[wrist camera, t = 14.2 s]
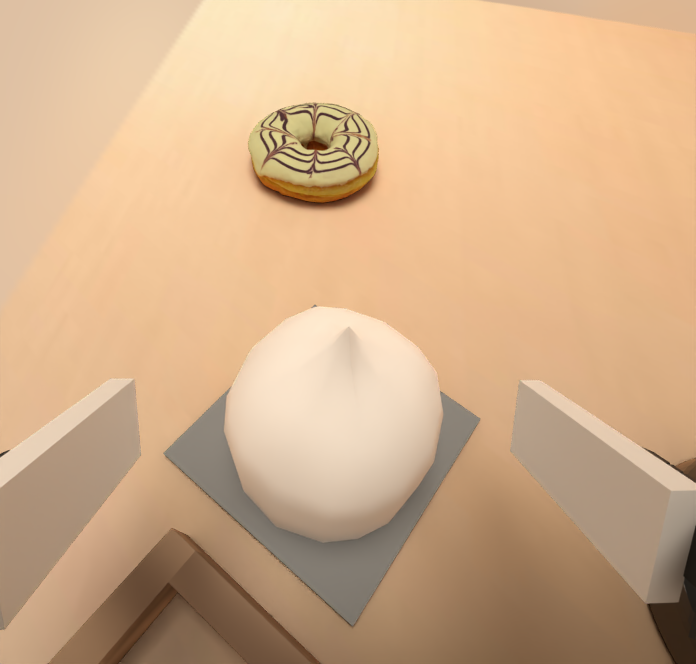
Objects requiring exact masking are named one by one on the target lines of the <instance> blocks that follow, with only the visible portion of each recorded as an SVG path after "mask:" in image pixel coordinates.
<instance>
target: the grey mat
mask: <svg viewBox="0 0 696 664" xmlns="http://www.w3.org/2000/svg"><path fill="white" fill-rule="evenodd" d="M313 307H317V306H316V305H314V306H313ZM313 307H312V308H313ZM231 387H232V386H231ZM231 387H230V388H229V389H228V390H227V391H226V392H225V393H224V394H223V395H222V396H221V397H220V398H219V399H218V400H217V401H216V402H215V403H214V404H213V405H212V406H211V407H210V408H209V409H208V410H207V411H206V412H205V413H204V414H203V415H202V416H201V417H200V418H199V419H198V420H197V421H196V422H195V423H194V424H193V425H192V426H191V427H190V428H189V429H188V430H187V431H186V432H185V433H184V434H182V435H181V436H180V437H179V438H178V439H177V440H176V441H175V442H174V443H173V444H172V445H171V446H170V447H169V448H168V449H167V450H166V451H165V452H164V453H163V454H164V455H165V456H166V457H168V458H169V459H170V460H171V461H172V462H173V463H174V464H175V465H176V466H177V467H179V468H180V469H181V470H182V471H183V472H184V473H185V474H186V475H187V476H188V477H189V478H191V479H192V480H193V481H194V482H195V483H196V484H197V485H198V486H199V487H200V488H202V489H203V490H204V491H205V492H206V493H207V494H208V495H209V496H210V497H211V498H212V499H214V500H215V501H216V502H217V503H218V504H219V505H220V506H221V507H222V508H223V509H225V510H226V511H227V512H228V513H229V514H230V515H231V516H232V517H233V518H234V519H235V520H237V521H238V522H239V523H240V524H241V525H242V526H243V527H244V528H245V529H246V530H247V531H249V532H250V533H251V534H252V535H253V536H254V537H255V538H256V539H257V540H258V541H260V542H261V543H262V544H263V545H264V546H265V547H266V548H267V549H268V550H269V551H270V552H272V553H273V554H274V555H275V556H276V557H277V558H278V559H279V560H280V561H281V562H283V563H284V564H285V565H286V566H287V567H288V568H289V569H290V570H291V571H292V572H293V573H295V574H296V575H297V576H298V577H299V578H300V579H301V580H302V581H303V582H304V583H306V584H307V585H308V586H309V587H310V588H311V589H312V590H313V591H314V592H315V593H316V594H318V595H319V596H320V597H321V598H322V599H323V600H324V601H325V602H326V603H327V604H329V605H330V606H331V607H332V608H333V609H334V610H335V611H336V612H337V613H338V614H339V615H341V616H342V617H343V618H344V619H345V620H346V621H347V622H348V623H349V624H350V625H351V626H353V625H354V624H355V622H356V621H357V619H358V617H359V616H360V614H361V612H362V611H363V609H364V608H365V606H366V604H367V603H368V601H369V599H370V598H371V596H372V595H373V593H374V591H375V590H376V588H377V586H378V585H379V583H380V582H381V580H382V578H383V577H384V575H385V573H386V572H387V570H388V569H389V567H390V565H391V564H392V562H393V560H394V559H395V557H396V556H397V554H398V552H399V551H400V549H401V547H402V546H403V544H404V543H405V541H406V539H407V538H408V536H409V534H410V533H411V531H412V530H413V528H414V526H415V525H416V523H417V521H418V520H419V518H420V517H421V515H422V513H423V512H424V510H425V508H426V507H427V505H428V504H429V502H430V500H431V499H432V497H433V495H434V494H435V492H436V491H437V489H438V487H439V486H440V484H441V482H442V481H443V479H444V478H445V476H446V474H447V473H448V471H449V469H450V468H451V466H452V465H453V463H454V461H455V460H456V458H457V456H458V455H459V453H460V452H461V450H462V448H463V447H464V445H465V443H466V442H467V440H468V439H469V437H470V435H471V434H472V432H473V430H474V429H475V427H476V426H477V424H478V422H479V421H480V418H478V417H477V416H476V415H474V414H473V413H471V412H470V411H468V410H467V409H465V408H464V407H463V406H461V405H460V404H458V403H457V402H455V401H454V400H452V399H451V398H450V397H448V396H447V395H445V394H444V393H442V392H441V391H440V396H441V402H442V408H443V419H442V424H441V429H440V434H439V439H438V444H437V449H436V454H435V460H434V463H433V464H432V466H431V467H430V469H429V470H428V472H427V473H426V475H425V476H424V478H423V479H422V481H421V483H420V484H419V486H418V487H417V488H416V490H415V491H414V492H413V493H412V495H411V496H410V497H409V498H408V500H407V501H406V502H405V503H404V504H403V506H402V507H401V508H400V509H399V511H398V512H397V513H396V514H395V516H394V517H393V518H392V519H391V521H390V522H389V523H388V524H386V525H384V526H382V527H380V528H378V529H376V530H374V531H372V532H370V533H368V534H366V535H364V536H362V537H360V538H358V539H352V540H343V541H334V542H325V543H322V542H320V541H317V540H314V539H311V538H308V537H305V536H302V535H299V534H296V533H293V532H290V531H287V530H284V529H281V528H278V527H276V526H275V525H274V524H273V523H272V522H271V521H270V520H269V518H268V517H267V516H266V515H265V514H264V513H263V512H262V511H261V510H260V509H259V507H258V506H257V505H256V504H255V503H254V502H253V501H252V500H251V499H250V497H249V496H248V495H247V494H246V493H245V492H244V491H243V488H242V484H241V481H240V478H239V475H238V472H237V469H236V466H235V463H234V460H233V457H232V454H231V451H230V448H229V445H228V442H227V439H226V436H225V433H224V424H225V410H226V397H227V395H228V393H229V391H230V389H231Z"/></svg>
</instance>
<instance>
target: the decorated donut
mask: <svg viewBox="0 0 696 664" xmlns="http://www.w3.org/2000/svg"><path fill="white" fill-rule="evenodd" d="M248 149H249V151H250V154H251V159H252V164H253V169H254V171H255V173H256V175H257V176H258V178H259V179H260V180H261V182H262V183H263V184H264V185H265V186H266V187H269V188H271V189H273V190H275V191H279V192H280V193H281V194H282V195H288V196H291V197H294V198H298V199H301V200H306V201H311V202H323V203H324V202H331V201H336V200H338V199H342V198H345V197H348V196H349V195H351V194H353V193H355V192H356V191H359V190H360V189H361V188H363V187H364V186H365V185H366V183H368V181H369V180H370V179H371V178H372V177H373V175H374V174H375V172H376V169H377V162H378V155H379V154H378V152H379V148H378V144H377V134H376V131H375V129H374V127H373V125H372V124H371V123H370V122H369V121H367V120H366V119H364V118H363V117H362V116H361V115H360V114H358V113H356V112H353V111H352V110H350V109H347V108H344V107H342V106H340V105H337V104H329V103H305V104H300V105H295V106H289V107H285V108H282V109H280V110H278V111H276V112H273V113H272V114H270V115H268V116H267V117H265V118H264V119H263V120H261V121H260V122H259V123H258V124H257V125H256V126H255V128H254V129H253V131H252V132H251V134H250V137H249V141H248Z"/></svg>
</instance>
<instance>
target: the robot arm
mask: <svg viewBox="0 0 696 664" xmlns="http://www.w3.org/2000/svg"><path fill="white" fill-rule="evenodd" d="M510 451H511V452H512V454H513V455H514V456H515V457H516V458H517V459H518V460H519V461H520V463H521V464H522V465H523V466H524V467H525V468H526V469H527V470H528V472H529V473H530V474H531V475H532V476H533V477H534V478H535V479H536V481H537V482H538V483H539V484H540V485H541V486H542V487H543V489H544V490H545V491H546V492H547V493H548V494H549V495H550V496H551V498H552V499H553V500H554V501H555V502H556V503H557V504H558V505H559V507H560V508H561V509H562V510H563V511H564V512H565V513H566V514H567V516H568V517H569V518H570V519H571V520H572V521H573V522H574V524H575V525H576V526H577V527H578V528H579V529H580V530H581V531H582V533H583V534H584V535H585V536H586V537H587V538H588V539H589V540H590V542H591V543H592V544H593V545H594V546H595V547H596V548H597V549H598V551H599V552H600V553H601V554H602V555H603V556H604V557H605V559H606V560H607V561H608V562H609V563H610V564H611V565H612V566H613V568H614V569H615V570H616V571H617V572H618V573H619V574H620V575H621V577H622V578H623V579H624V580H625V581H626V582H627V583H628V584H629V586H630V587H631V588H632V589H633V590H634V591H635V592H636V594H637V595H638V596H639V597H640V598H641V599H642V600H643V601H644V603H645V604H650V607H651V610H652V613H653V616H654V618H655V621H656V623H657V626H658V628H659V630H660V633H661V635H662V637H663V639H664V641H665V643H666V645H667V647H668V649H669V651H670V653H671V655H672V657H673V658H674V660H675V662H676V664H696V458H694V459H691V460H688V461H685V462H683V463H681V464H679V465H677V466H674V465H670V463H669V462H668V461H666V460H665V459H663V458H662V457H660V456H659V455H657V454H656V453H654V452H652V451H650V450H647V449H645V448H643V447H641V446H639V445H637V444H636V443H634V442H633V441H631V440H630V439H628V438H627V437H625V436H624V435H622V434H621V433H619V432H618V431H616V430H615V429H613V428H612V427H610V426H609V425H607V424H606V423H604V422H603V421H601V420H600V419H598V418H597V417H595V416H594V415H592V414H591V413H589V412H588V411H586V410H585V409H583V408H582V407H580V406H579V405H577V404H576V403H574V402H572V401H571V400H569V399H568V398H566V397H565V396H563V395H562V394H560V393H559V392H557V391H556V390H554V389H553V388H551V387H550V386H548V385H547V384H545V383H544V382H542V381H541V380H519V386H518V394H517V402H516V410H515V418H514V425H513V433H512V441H511V449H510ZM140 456H141V447H140V435H139V424H138V413H137V402H136V390H135V379H109V380H108V381H106V382H105V383H103V384H102V385H101V386H99V387H98V388H97V389H95V390H94V391H92V392H91V393H90V394H88V395H87V396H85V397H84V398H83V399H81V400H80V401H78V402H77V403H76V404H74V405H73V406H71V407H70V408H69V409H67V410H66V411H64V412H63V413H62V414H60V415H59V416H58V417H56V418H55V419H53V420H52V421H51V422H49V423H48V424H46V425H45V426H44V427H42V428H41V429H39V430H38V431H37V432H35V433H34V434H32V435H31V436H30V437H28V438H27V439H25V440H24V441H23V442H21V443H20V444H18V445H17V446H16V447H14V448H13V449H12V450H8V451H6V452H3V453H1V454H0V630H2V629H6V627H7V626H8V625H9V623H10V622H11V621H12V620H13V618H14V617H15V616H16V615H17V613H18V612H19V611H20V609H21V608H22V607H23V606H24V604H25V603H26V602H27V600H28V599H29V598H30V597H31V595H32V594H33V593H34V591H35V590H36V589H37V588H38V586H39V585H40V584H41V582H42V581H43V580H44V579H45V577H46V576H47V575H48V574H49V572H50V571H51V570H52V568H53V567H54V566H55V565H56V563H57V562H58V561H59V559H60V558H61V557H62V556H63V554H64V553H65V552H66V550H67V549H68V548H69V547H70V545H71V544H72V543H73V541H74V540H75V539H76V538H77V536H78V535H79V534H80V533H81V531H82V530H83V529H84V527H85V526H86V525H87V524H88V522H89V521H90V520H91V518H92V517H93V516H94V515H95V513H96V512H97V511H98V509H99V508H100V507H101V506H102V504H103V503H104V502H105V501H106V499H107V498H108V497H109V495H110V494H111V493H112V492H113V490H114V489H115V488H116V486H117V485H118V484H119V483H120V481H121V480H122V479H123V477H124V476H125V475H126V474H127V472H128V471H129V470H130V468H131V467H132V466H133V465H134V463H135V462H136V461H137V460H138V458H139V457H140Z"/></svg>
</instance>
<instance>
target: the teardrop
mask: <svg viewBox="0 0 696 664" xmlns="http://www.w3.org/2000/svg"><path fill="white" fill-rule="evenodd" d="M442 419H443V408H442V402H441V396H440V389H439V383H438V376H437V372H436V370H435V369H434V368H433V366H432V365H431V364H430V362H429V361H428V359H427V358H426V357H425V355H424V354H423V353H422V351H421V350H420V349H419V347H418V346H416V345H415V344H414V343H412V342H411V341H410V340H408V339H407V338H406V337H404V336H403V335H402V334H400V333H399V332H397V331H396V330H395V329H393V328H392V327H391V326H389V325H388V324H387V323H385V322H384V321H381V320H378V319H375V318H372V317H369V316H366V315H363V314H360V313H357V312H354V311H351V310H348V309H345V308H333V307H319V306H317V307H313V308H311V309H308V310H306V311H304V312H301V313H299V314H296V315H294V316H291V317H289V318H287V319H285V320H284V321H283V322H282V323H280V324H279V325H278V326H277V327H276V328H274V329H273V330H272V331H271V332H270V333H269V334H267V335H266V336H265V337H264V338H263V339H261V340H260V341H259V342H258V343H257V344H256V345H254V346H253V348H252V349H251V350H250V352H249V353H248V355H247V357H246V359H245V361H244V363H243V365H242V367H241V369H240V371H239V373H238V375H237V377H236V379H235V381H234V383H233V385H232V387H231V389H230V391H229V393H228V395H227V397H226V410H225V424H224V433H225V436H226V439H227V442H228V445H229V448H230V451H231V454H232V457H233V460H234V463H235V466H236V469H237V472H238V475H239V478H240V481H241V484H242V488H243V491H244V492H245V493H246V494H247V495H248V496H249V497H250V499H251V500H252V501H253V502H254V503H255V504H256V505H257V506H258V507H259V509H260V510H261V511H262V512H263V513H264V514H265V515H266V516H267V517H268V518H269V520H270V521H271V522H272V523H273V524H274V525H275V526H276V527H278V528H281V529H284V530H287V531H290V532H293V533H296V534H299V535H302V536H305V537H308V538H311V539H314V540H317V541H320V542H322V543H325V542H334V541H343V540H352V539H358V538H360V537H362V536H364V535H366V534H368V533H370V532H372V531H374V530H376V529H378V528H380V527H382V526H384V525H386V524H388V523H389V522H390V521H391V519H392V518H393V517H394V516H395V514H396V513H397V512H398V511H399V509H400V508H401V507H402V506H403V504H404V503H405V502H406V501H407V500H408V498H409V497H410V496H411V495H412V493H413V492H414V491H415V490H416V488H417V487H418V486H419V484H420V483H421V481H422V479H423V478H424V476H425V475H426V473H427V472H428V470H429V469H430V467H431V466H432V464H433V463H434V460H435V454H436V449H437V444H438V439H439V434H440V429H441V424H442Z"/></svg>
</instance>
